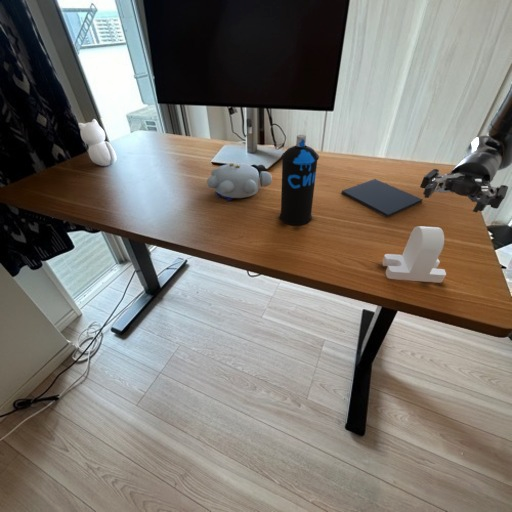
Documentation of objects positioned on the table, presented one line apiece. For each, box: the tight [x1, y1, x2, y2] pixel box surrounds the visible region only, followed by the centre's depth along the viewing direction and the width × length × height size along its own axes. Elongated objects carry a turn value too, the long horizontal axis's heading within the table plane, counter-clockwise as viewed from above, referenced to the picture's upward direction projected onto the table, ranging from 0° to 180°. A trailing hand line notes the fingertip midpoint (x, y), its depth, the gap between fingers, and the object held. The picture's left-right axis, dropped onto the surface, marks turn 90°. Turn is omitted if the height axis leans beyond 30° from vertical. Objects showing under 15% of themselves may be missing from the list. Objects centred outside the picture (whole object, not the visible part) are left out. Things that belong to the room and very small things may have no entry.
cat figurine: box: [77, 118, 118, 167], centre depth 98 cm, size 9×12×15 cm
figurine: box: [206, 162, 273, 202], centre depth 80 cm, size 17×8×20 cm
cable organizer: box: [381, 225, 447, 284], centre depth 50 cm, size 5×10×10 cm, turn 81°
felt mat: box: [341, 178, 423, 218], centre depth 76 cm, size 16×14×1 cm
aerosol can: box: [279, 134, 320, 227], centre depth 63 cm, size 8×8×20 cm
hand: (451, 200), depth 52 cm, fingers open, 8 cm apart
